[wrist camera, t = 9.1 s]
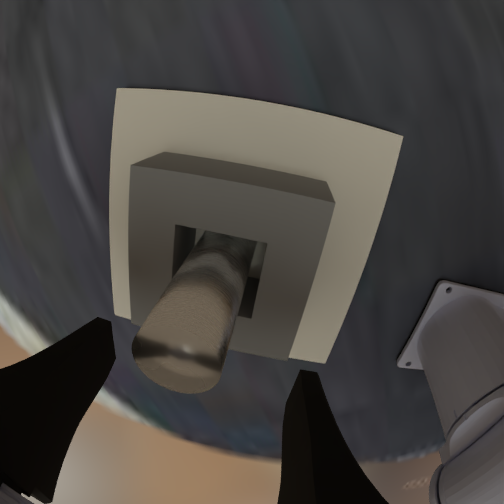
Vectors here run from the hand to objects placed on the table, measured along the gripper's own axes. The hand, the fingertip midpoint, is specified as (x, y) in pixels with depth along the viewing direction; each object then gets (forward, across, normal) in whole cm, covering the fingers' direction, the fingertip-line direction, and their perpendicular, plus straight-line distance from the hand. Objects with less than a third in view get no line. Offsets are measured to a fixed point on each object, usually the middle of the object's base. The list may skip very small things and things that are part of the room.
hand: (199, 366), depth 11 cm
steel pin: (+9, +1, -1) cm, 9 cm away
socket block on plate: (+10, +1, -1) cm, 10 cm away
